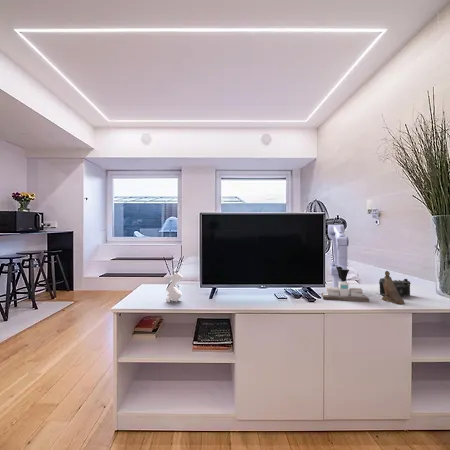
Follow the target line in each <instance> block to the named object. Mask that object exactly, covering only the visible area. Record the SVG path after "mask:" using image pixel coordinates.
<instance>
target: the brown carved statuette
mask: <svg viewBox="0 0 450 450" xmlns="http://www.w3.org/2000/svg"><path fill="white" fill-rule="evenodd" d="M384 275H385V276H384V279H385V283H384V290H385V294H386V295H382V296H381V300H383V301H387V302H389V303H392V304H394V305H395V304H396V305H405V300H404V299H403V297H402V296H400V295H399V293H398V291H397V289H396V287H395V285H394V284H393V281H394V280H393V279H392V277H391V276H390V271H388V270H386V271H385V272H384Z"/></svg>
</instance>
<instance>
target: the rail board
mask: <svg viewBox="0 0 450 450" xmlns="http://www.w3.org/2000/svg"><path fill="white" fill-rule="evenodd" d="M321 297H323V298H322V299H324V301H325V300H326V301H330V300H331V301H343V302H344V301H346V302H347V301H349V302H350V301H351V302H370V299H369V297H368V296H367V295H366V294H363V289H362V288H359V287H348V296H340V295H339V289H338V287H331V286H326V292H321Z"/></svg>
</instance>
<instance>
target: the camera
mask: <svg viewBox="0 0 450 450" xmlns="http://www.w3.org/2000/svg"><path fill="white" fill-rule="evenodd" d="M392 281H393V284H394V285H395V287H396V289H397V291H398V293H399V295H400V296H401V297H409V296H411V285H412V284H411V281H410V280H408V278H404V279H403V280H400V279H394V280H392ZM384 283H385V279H384V278H383V277H382V278H379V282H378V284H379V295H381V296H386V294H385V290H384Z"/></svg>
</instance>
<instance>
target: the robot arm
mask: <svg viewBox="0 0 450 450" xmlns="http://www.w3.org/2000/svg"><path fill="white" fill-rule="evenodd" d="M327 235H328V236H327V237H328V238H329V239H331V243H332V253H333V254H332V255H333V261H332V262H331V263H330V265H329V274H330V276H331V278H332V281H331V282H332V287H338V289H339V282H347V281H346V280H347V276H348V274H349V271H350V270H349V269H348V266H349V265H348V247H349V240H350V239H349V237H348V236H346V234H345V225H344V224H327Z"/></svg>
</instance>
